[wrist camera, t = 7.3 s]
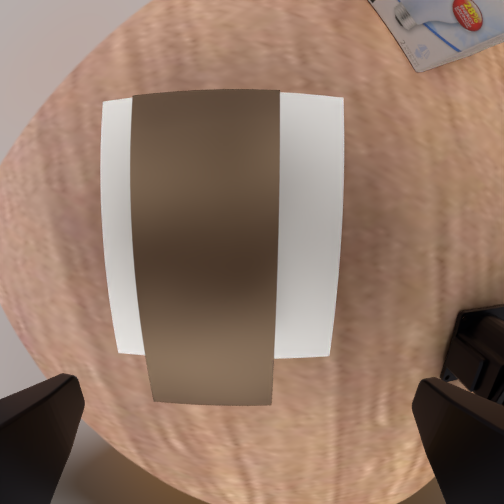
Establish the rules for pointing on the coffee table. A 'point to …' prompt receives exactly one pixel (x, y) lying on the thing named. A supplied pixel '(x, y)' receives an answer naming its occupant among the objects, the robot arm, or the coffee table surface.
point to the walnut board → (207, 242)
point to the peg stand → (290, 223)
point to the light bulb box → (442, 28)
